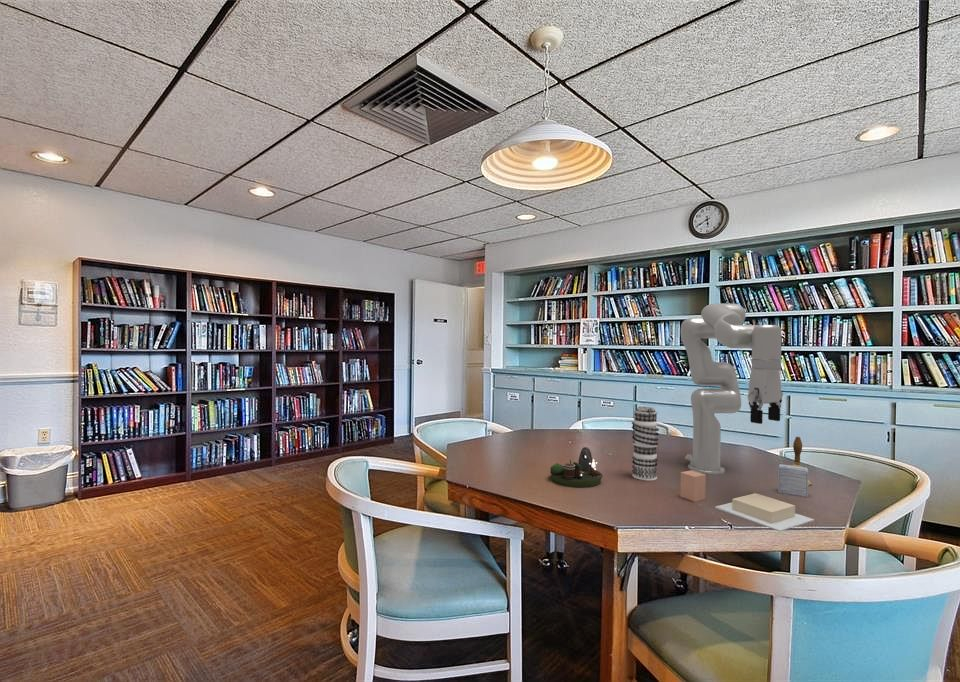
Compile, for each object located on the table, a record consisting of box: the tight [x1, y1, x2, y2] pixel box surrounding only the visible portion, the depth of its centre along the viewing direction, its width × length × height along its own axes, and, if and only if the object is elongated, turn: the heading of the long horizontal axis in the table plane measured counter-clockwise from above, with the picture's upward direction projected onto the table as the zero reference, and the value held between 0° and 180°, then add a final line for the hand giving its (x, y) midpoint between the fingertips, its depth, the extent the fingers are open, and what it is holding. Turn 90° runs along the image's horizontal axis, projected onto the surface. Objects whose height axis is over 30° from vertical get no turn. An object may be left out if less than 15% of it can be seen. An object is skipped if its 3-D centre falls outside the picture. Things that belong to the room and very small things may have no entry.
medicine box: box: [777, 463, 809, 498], centre depth 145 cm, size 8×4×9 cm, turn 56°
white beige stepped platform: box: [714, 492, 815, 532], centre depth 126 cm, size 18×16×4 cm
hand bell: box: [790, 436, 812, 487], centre depth 157 cm, size 8×8×16 cm
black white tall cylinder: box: [631, 406, 660, 481], centre depth 161 cm, size 9×9×25 cm
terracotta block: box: [680, 470, 707, 502], centre depth 140 cm, size 5×5×8 cm
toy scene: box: [550, 446, 603, 488], centre depth 157 cm, size 18×18×11 cm
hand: (765, 421), depth 136 cm, fingers open, 9 cm apart
